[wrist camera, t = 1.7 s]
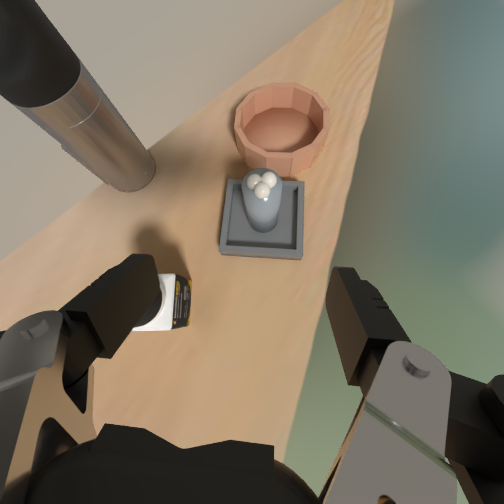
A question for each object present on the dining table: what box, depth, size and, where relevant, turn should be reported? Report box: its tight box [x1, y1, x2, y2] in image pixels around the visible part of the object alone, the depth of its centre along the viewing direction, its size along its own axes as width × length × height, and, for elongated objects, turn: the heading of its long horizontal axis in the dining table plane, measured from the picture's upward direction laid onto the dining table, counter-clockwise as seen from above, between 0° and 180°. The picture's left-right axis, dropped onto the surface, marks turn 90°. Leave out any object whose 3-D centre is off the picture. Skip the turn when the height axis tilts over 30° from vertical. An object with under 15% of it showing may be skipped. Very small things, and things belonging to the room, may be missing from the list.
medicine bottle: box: [132, 273, 192, 331], centre depth 28 cm, size 7×7×12 cm
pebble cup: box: [242, 168, 282, 233], centre depth 30 cm, size 5×5×11 cm
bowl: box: [234, 83, 330, 177], centre depth 38 cm, size 16×16×5 cm
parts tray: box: [219, 179, 305, 260], centre depth 35 cm, size 13×13×2 cm
